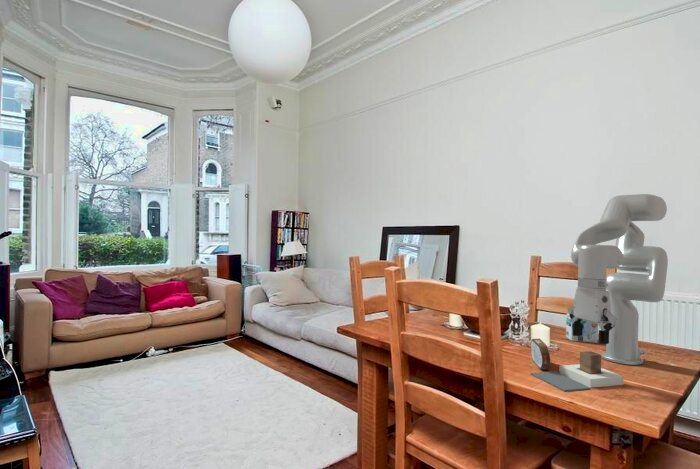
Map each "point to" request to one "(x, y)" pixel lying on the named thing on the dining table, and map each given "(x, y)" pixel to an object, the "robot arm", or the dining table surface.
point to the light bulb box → (587, 334)
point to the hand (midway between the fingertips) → (590, 339)
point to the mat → (560, 381)
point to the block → (590, 362)
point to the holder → (591, 376)
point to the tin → (540, 354)
